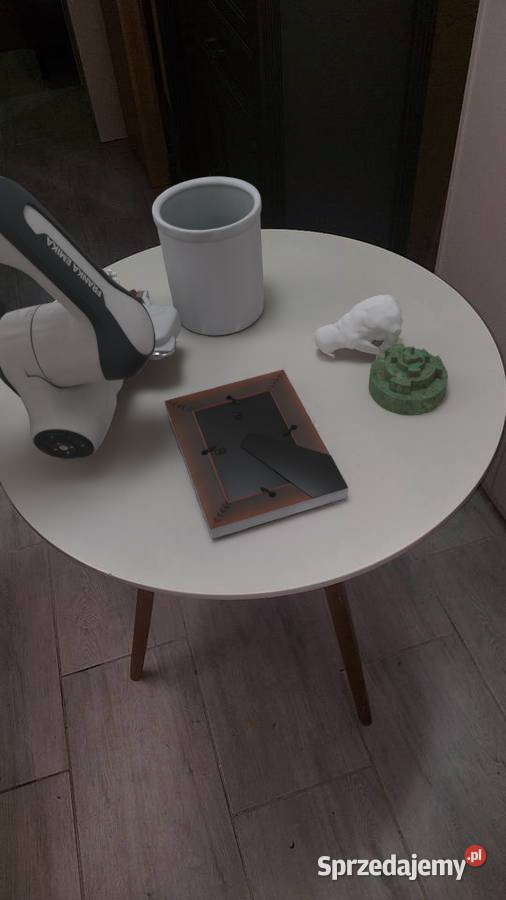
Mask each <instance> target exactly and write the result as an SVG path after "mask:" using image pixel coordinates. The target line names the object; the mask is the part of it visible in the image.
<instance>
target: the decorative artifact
mask: <svg viewBox="0 0 506 900" xmlns="http://www.w3.org/2000/svg"><path fill="white" fill-rule="evenodd" d="M448 381H449V374H448V369H447V368H446V366H445V365H444V363H443V361H442V358H441V357H440V355H434V354H431V353H429V351H428V350H426V349H424V348H422V349H420V348H417V347H416V346H413V345H412V346H410V345H409V346H405V344H404V342H403V343H396V345H393V346H391V347H389V348H387V349H386V350H385V353H383V354H382V355H380V356H379V357H377V358H376V357H375V359H374V361H372V363H371V366H370V368H369V379H368V391H369V395H370V396H371V398H372V399H373V400H374V402H375V403H377V404H378V405H379V406H381V407H382V408H383V409H385V410H388V411H391V412H392V413H396V414H400V413H401V414H400V415H420V414H423V413H422V412H424V413H427V412H429V411H428V410H430V411H432V410H433V409H435V408H436V407H438V406H439V405H440V404H441V403H442V402H443V400H444V398H443V397H445V393H446V389H447V385H448ZM442 399H443V400H442ZM440 402H441V403H440ZM439 403H440V404H439ZM438 404H439V405H438ZM437 405H438V406H437ZM431 409H432V410H431ZM426 411H427V412H426ZM417 413H418V414H417ZM419 413H420V414H419Z"/></svg>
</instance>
